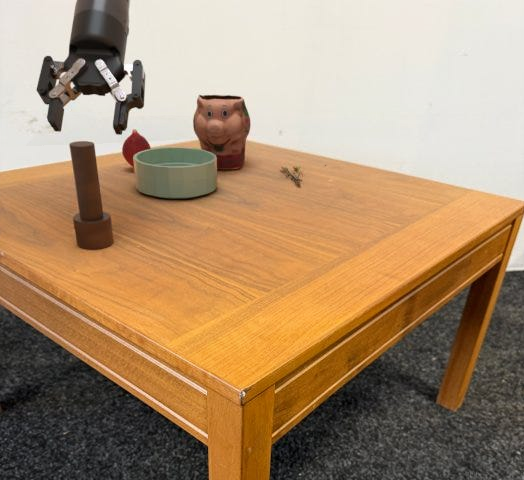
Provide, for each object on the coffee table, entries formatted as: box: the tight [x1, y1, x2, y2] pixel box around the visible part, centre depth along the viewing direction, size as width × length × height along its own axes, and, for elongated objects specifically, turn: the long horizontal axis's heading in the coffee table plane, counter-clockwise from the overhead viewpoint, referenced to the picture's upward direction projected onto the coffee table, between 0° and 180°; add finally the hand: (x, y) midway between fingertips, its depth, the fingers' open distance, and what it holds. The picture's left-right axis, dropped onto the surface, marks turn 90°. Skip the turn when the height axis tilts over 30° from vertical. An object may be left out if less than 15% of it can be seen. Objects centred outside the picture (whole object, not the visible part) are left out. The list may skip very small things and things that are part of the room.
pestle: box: [68, 140, 114, 250], centre depth 77 cm, size 5×5×14 cm
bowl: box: [133, 146, 218, 200], centre depth 103 cm, size 15×15×6 cm
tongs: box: [280, 165, 301, 189], centre depth 113 cm, size 4×13×2 cm, turn 11°
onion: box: [121, 128, 152, 168], centre depth 113 cm, size 6×6×8 cm
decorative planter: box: [192, 94, 251, 170], centre depth 118 cm, size 20×12×14 cm, turn 3°
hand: (86, 129), depth 75 cm, fingers open, 8 cm apart
